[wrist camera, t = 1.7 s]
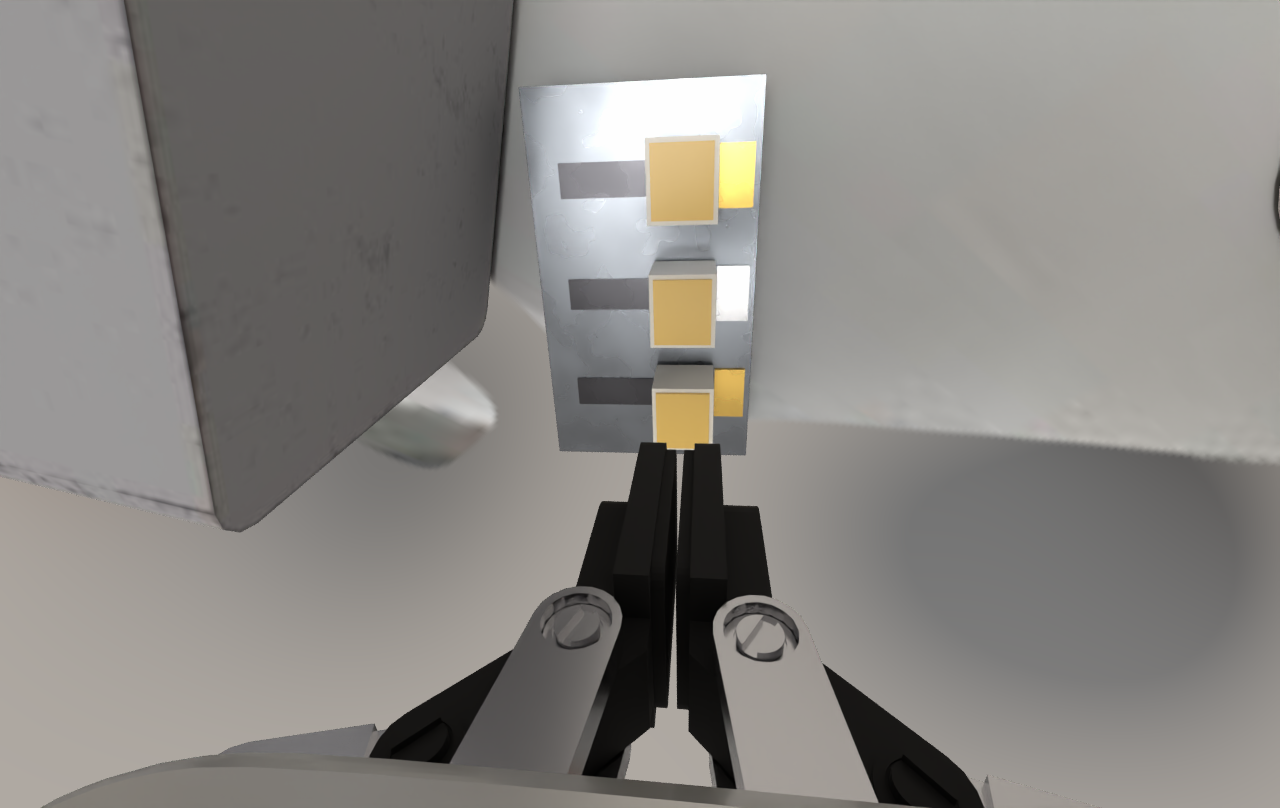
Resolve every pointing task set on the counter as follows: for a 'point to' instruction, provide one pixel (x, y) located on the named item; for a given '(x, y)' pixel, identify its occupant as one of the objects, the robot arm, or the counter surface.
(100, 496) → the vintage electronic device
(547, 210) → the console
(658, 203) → the switch
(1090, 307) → the counter surface
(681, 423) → the switch
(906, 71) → the counter surface
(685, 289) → the switch
